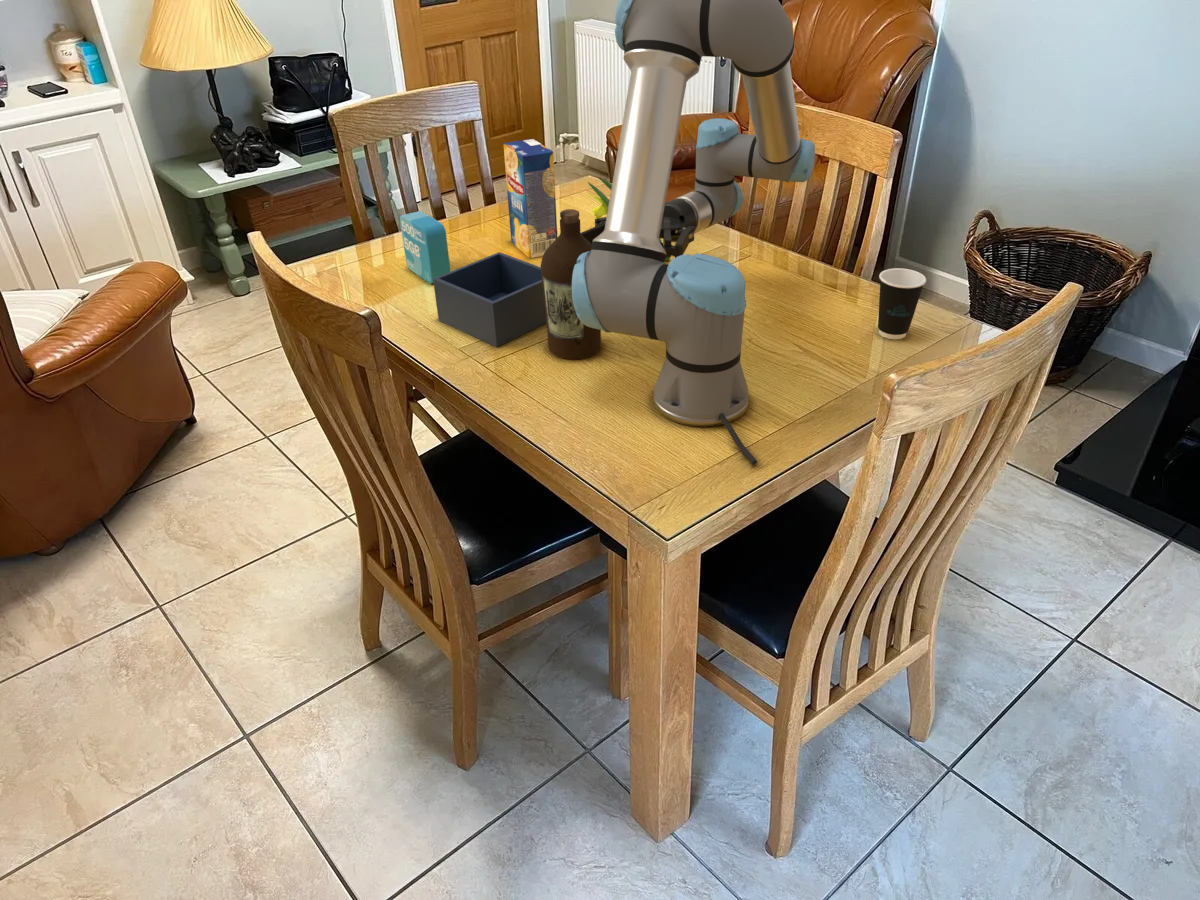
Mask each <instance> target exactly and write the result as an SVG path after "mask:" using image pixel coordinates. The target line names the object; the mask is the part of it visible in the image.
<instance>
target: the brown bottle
mask: <svg viewBox="0 0 1200 900" xmlns="http://www.w3.org/2000/svg"><path fill="white" fill-rule="evenodd" d="M559 217H560V219H559V232H560V233H559V235H557V239H556V240H555V241H554V242H553V243H552V244H551V245H550V246H549V247H548V248H547V250H546V251H545V253H544V255H543V256H542V258H541V261H540V267H541V279H542V287H543V296H544V305H545V314H546V334H547V335H546V336H547V345H548V350H549V352H550V353H551V354H552V355H553V356H555V357H557V358H561V359H564V360H565V359H566V360H581V359H587V358H590V357H592V356H594V355H596V354H597V353H598V352H599V350H600V349H601V345H602V330H599V329H595V328H591V327H588V326H586V325H584V324H583V323H582V322H581V321H580V320H579V318H578V316H577V314H576V311H575V308H574V305H573V300H572V275H573V270H574V266H575V264H577V259H578V257H579V256H580V255H581V254H582V253H585V252H588V251H590V252H591V248H592V244H591V243H590V242H589V241H588V240H587V239H586V238H585V237H583V236H582V234H581V233H582V232H581V219H580V211H579V210H577V209H573V208H568V209H563V210H561V211H560V212H559Z"/></svg>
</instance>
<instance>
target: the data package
mask: <svg viewBox="0 0 1200 900" xmlns="http://www.w3.org/2000/svg"><path fill="white" fill-rule="evenodd" d="M399 223H400V224H399V225H400V230H401V231H400V232H401V235H402V236H401V237H402V238H401V239H402V244H403V250H404V257H405V263H406V266H407V268H408V270H410V271H411V272H412V273H414V274H415V275H417V276H418V277H420V278H421V279H422V280H424V281H425V282H427V283H429V284H431V285H432V284H434V283H433V278H436V277H438V276H441V275H443V274H446V273H448V272H451V271H452V270H451V263H450V254H449V246H448V238H447V231H446V227H445V226H444V224H443V223H442V222H440V221H438V219H435V218H433V216H430V215H428V214H426V213H425V212H424V211H422V210H418V211H413V212H410V213H405V214H401V215H400V217H399Z"/></svg>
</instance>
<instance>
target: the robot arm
mask: <svg viewBox="0 0 1200 900" xmlns="http://www.w3.org/2000/svg"><path fill="white" fill-rule="evenodd" d="M614 15H615V16H614V24H616V25H615V28H614V36H615V40H616V44H617V46H618V48H619V49H621V51H623V56H622V57H623V61H624V62H625V64H626V65H627V67H628V69H629V70H630V77H629V81H628V87H627V88H628V89H627V94H626V99H625V105H624V112H623V118H622V124H621V130H620V135H619V142H618V148H617V153H616V159H615V163H614V164H615V165H614V171H613V177H612V182H611V184H612V188H611V190H610V194H609V206H608V212H607V214H606V216H602V217H601V218H594V227H590V228H589V229H586V230H584V231H582V232H580V233H581V234H582V236H583V237H585V238H586V239H587V240H588V241H589V242H590V243H591V244H592V248H591V252H590V251H588V252H585V253H582V254H581V255H580V256H579V257H578V259H577V264H575V266H574V270H573V275H572V300H573V305H574V308H575V311H576V314H577V316H578V318H579V320H580V321H581V322H582V323H583V324H584V325H586V326H588V327H591V328H595V329H599V330H601V331H602V332H604V333H609V334H612V333H614V334H619V335H624V336H625V335H626V336H631V337H637V338H643V339H648V340H654V341H660V342H664V343H665V359H664V361H663V364H662V366H661V369H660V371H659V374H658V376H657V378H656V381H655V384H654V388H653V396H652V397H653V399H652V401H653V405H654V408H655V409H656V411H657V412H658V413H659V414H661V415H662V416H663V417H665V418H666V419H669V420H670V421H673V422H674V423H678V424H681V425H685V426H691V427H703V428H704V427H716V426H722V425H723V426H724V427H725V429H726V430H727V432H728V433H729V435H730V437H731V438H732V440H733V442H734V443H735V445H736V447H737V448H738V450H740V452H741V453H742V454H743V455H744V457H745V458H746V459H747V460H748V461H749V462H750V464H751V465H753V466H756V465H757V464H758V460H757V459H756V458H755V457H754V456H753V454H752V453H751V452H750V451H749V450H748V448H747V447H746V446H745V445H744V443H743V442H742V440H741V439H740V437H739V436H738V434H737V432H736V430H735V429H734V427H733V426H732V425H731V423H732V422H734V421H736V420H738V419H739V418H741V417H742V416H743V415H744V414H745V413H746V412H747V410H748V407H749V401H750V394H749V388H748V384H747V380H746V376H745V372H744V369H743V367H742V362H741V356H742V345H743V333H744V321H745V310H746V308H747V300H746V279H745V276H744V275H743V273H742V271H741V270H739V268H737V266H736V265H734V264H733V263H731V262H729V261H728V260H725V259H723V258H720V257H717V256H714V255H713V256H712V255H709V254H704V253H694V254H693V255H692V254H689V253H685V252H686V250H687V248H688V246H689V244H691V243H693V242H694V241H695V235H696V234H697V233H699V232H701V231H703V230H706V229H708V228H711V227H712V226H715V225H717V224H720V223H723V222H725V221H726V220H729V219H730V218H732V216H734V215H736V214H737V213H738V212H739V211H740V210H741V208H742V206H743V204H744V194H743V191H742V187H741V186H740V185H739V184H738V182H737V181H736V180H735V176H736V177H745V178H756V179H762V180H771V181H779V182H780V181H782V182H785V183H805V182H807V181H808V180H809V179H810V177H811V175H812V173H813V169H814V164H815V158H816V145H815V143H814V142H813V141H811V140H809V139H808V140H807V139H805V138H801V135H800V129H799V121H798V114H797V113H798V112H797V105H796V98H795V91H794V83H793V76H792V68H791V60H792V58H793V55H794V52H795V39H794V31H793V27H792V24H791V21H790V18H789V17H788V14H787V12H786V9H784V7H783V5H782V4H781V2H780V1H779V0H617V4H616V9H615V14H614ZM703 57H708V58H709V57H711V58H718V57H719V58H726V59H729V60H731V63H732V65H733V67H734V69H735V70H736V71H737V72H738V73H739V74H740V75H741V78H742V82H743V86H744V90H745V95H746V100H747V104H748V109H749V112H750V118H751V121H752V125H753V131H754V134H747V133H739V126H738V123H737V122H736V121H735V120H732V119H728V118H719V117H718V118H709V119H705V120H703V121H702V122H701V123H700V124H699V125H698V128H697V129H698V130H697V139H696V145H695V179H694V190H692V191H690V192H687V193H685V194H683V195H681V196H678V197H676V198H674V199H671V200H669V201H667V195H668V190H669V185H670V178H671V172H672V167H673V162H674V155H675V150H676V144H677V140H678V134H679V127H680V122H681V117H682V112H683V111H682V110H683V105H684V100H685V93H686V90H687V89H686V88H687V82H688V81H689V80H690V79H692V78H693V77H695V76H696V75H697V74H698V73H699V71H700V67H701V61H702V58H703ZM666 201H667V202H666ZM659 238H660V239H661V240H662V242H659ZM672 243H675V244H674V245H673V244H672ZM663 245H664V246H663ZM669 257H673V258H672V260H671V261H669V263H666V259H665V258H669Z"/></svg>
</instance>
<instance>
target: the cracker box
mask: <svg viewBox="0 0 1200 900" xmlns="http://www.w3.org/2000/svg"><path fill="white" fill-rule="evenodd" d="M502 144H503V152H504V153H503V154H504V155H503V156H504V168H505V180H506V194H507V206H508V207H507V208H508V215H509V216H508V219H509V230H510V232H509V233H510V242H511V244H513V246H515V247H516V248H517V249H518V250H519V251H520V252H522V253H523V255H525V256H526V257H528V259H533V258H537V257H543V255H544V253H545V251H546V250H547V248H548V247H549V246H550V245H551V244H552V243H553V242H554V241H555V240H556V239H557V237H558V222H557V221H558V219H557V202H556V201H557V200H556V198H557V197H556V181H555V180H556V179H555V157H554V151H553V150H551V149H550V148H549V147H547V146H545V145H544V144H542V143H541V142H539V141H537V140H536V139H535V138H529V139H522V140H515V141H510V142H503V143H502Z"/></svg>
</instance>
